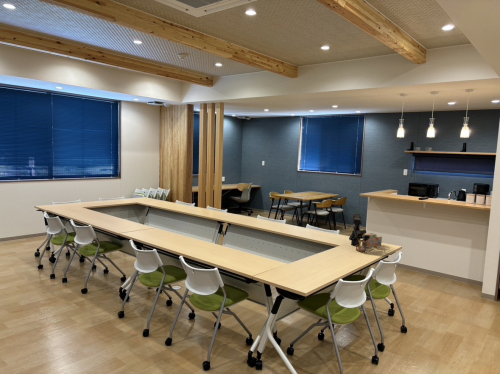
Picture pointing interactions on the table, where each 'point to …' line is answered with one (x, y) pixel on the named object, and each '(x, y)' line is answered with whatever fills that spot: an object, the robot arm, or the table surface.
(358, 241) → the open wooden box
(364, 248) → the dock
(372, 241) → the stack of blocks
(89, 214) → the table surface
